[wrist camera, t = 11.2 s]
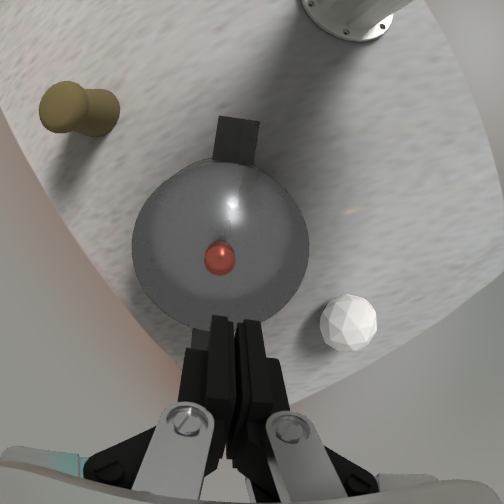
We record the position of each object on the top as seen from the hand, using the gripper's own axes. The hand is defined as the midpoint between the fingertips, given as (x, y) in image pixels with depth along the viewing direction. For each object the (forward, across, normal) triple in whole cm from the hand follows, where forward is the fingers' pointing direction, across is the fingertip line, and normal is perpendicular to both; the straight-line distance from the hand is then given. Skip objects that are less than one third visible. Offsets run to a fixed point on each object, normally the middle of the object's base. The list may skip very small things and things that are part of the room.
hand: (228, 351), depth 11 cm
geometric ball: (+29, -18, +13) cm, 36 cm away
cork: (+29, +18, -8) cm, 35 cm away
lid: (+19, 0, +3) cm, 19 cm away
